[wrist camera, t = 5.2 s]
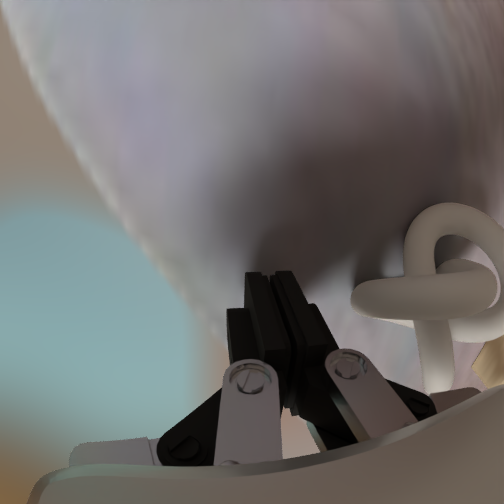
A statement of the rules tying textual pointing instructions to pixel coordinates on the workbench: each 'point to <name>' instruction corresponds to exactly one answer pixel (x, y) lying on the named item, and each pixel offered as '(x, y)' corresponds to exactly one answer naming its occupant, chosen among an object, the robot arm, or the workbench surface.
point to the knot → (441, 290)
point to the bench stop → (491, 363)
